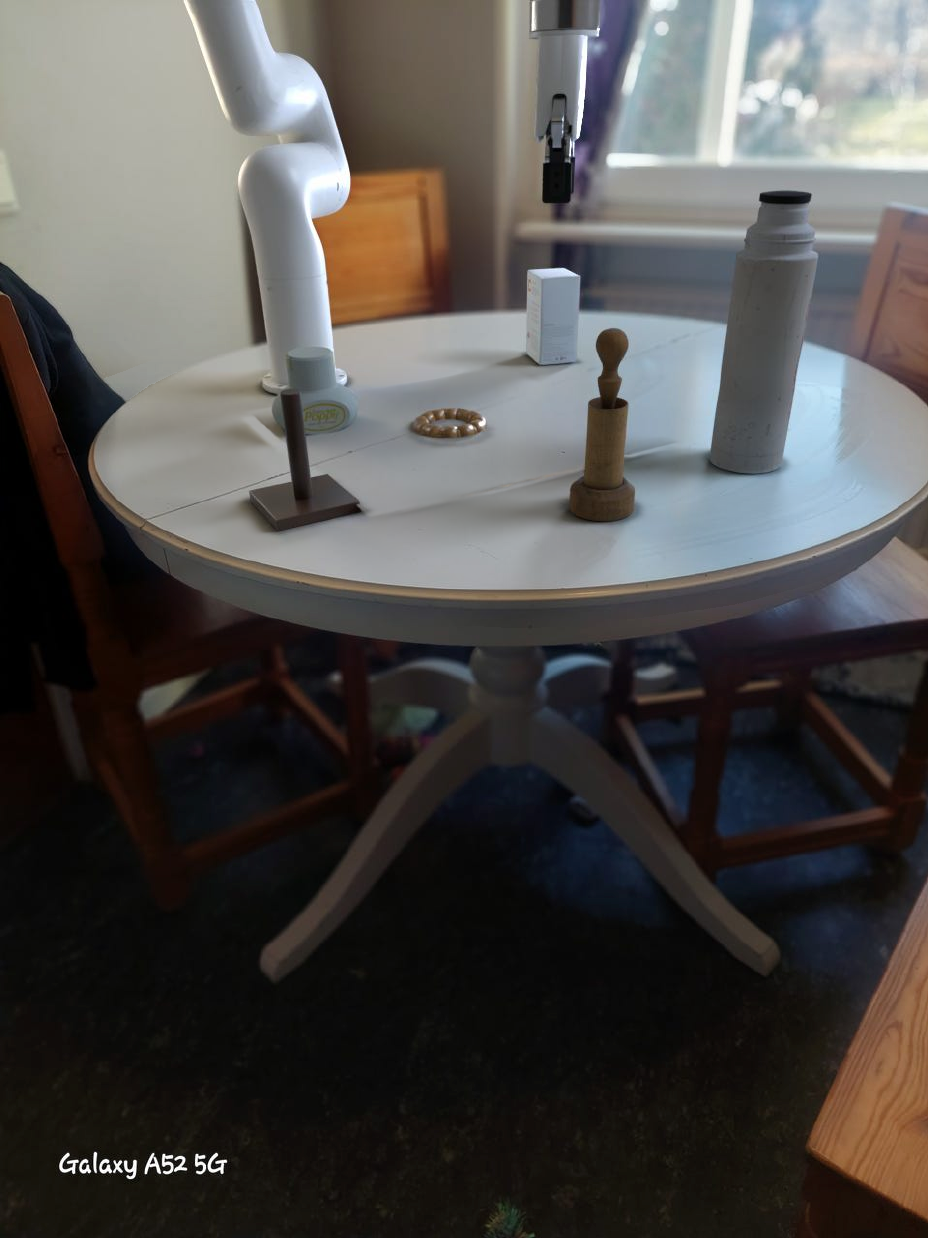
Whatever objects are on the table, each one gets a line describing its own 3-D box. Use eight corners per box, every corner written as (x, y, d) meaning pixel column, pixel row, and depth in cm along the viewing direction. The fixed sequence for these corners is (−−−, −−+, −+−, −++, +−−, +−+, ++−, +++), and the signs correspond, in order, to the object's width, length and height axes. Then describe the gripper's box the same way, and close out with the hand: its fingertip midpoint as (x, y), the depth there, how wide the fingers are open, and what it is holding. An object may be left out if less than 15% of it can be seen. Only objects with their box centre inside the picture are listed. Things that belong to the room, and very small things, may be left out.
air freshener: (352, 416, 117) (345, 340, 112) (366, 435, 111) (359, 355, 105) (271, 426, 114) (260, 348, 109) (280, 446, 108) (269, 365, 103)
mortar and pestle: (592, 527, 86) (603, 341, 77) (556, 504, 91) (563, 326, 82) (646, 513, 88) (663, 331, 79) (609, 491, 93) (621, 318, 84)
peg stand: (250, 500, 93) (232, 387, 87) (328, 483, 97) (316, 374, 91) (277, 531, 87) (260, 411, 80) (360, 511, 90) (350, 395, 84)
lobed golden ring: (401, 429, 112) (400, 414, 111) (464, 416, 116) (463, 402, 115) (434, 450, 105) (434, 434, 104) (499, 436, 109) (499, 421, 108)
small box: (577, 362, 138) (581, 275, 131) (539, 365, 137) (541, 278, 130) (561, 350, 145) (564, 266, 138) (524, 353, 143) (526, 269, 137)
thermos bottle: (777, 450, 103) (823, 187, 88) (784, 475, 96) (835, 195, 82) (708, 447, 104) (742, 187, 90) (710, 471, 98) (747, 195, 83)
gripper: (535, 27, 101) (532, 191, 110) (522, 17, 86) (520, 206, 95) (600, 25, 100) (592, 190, 109) (598, 14, 85) (589, 206, 94)
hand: (558, 198), depth 102 cm, fingers open, 9 cm apart
